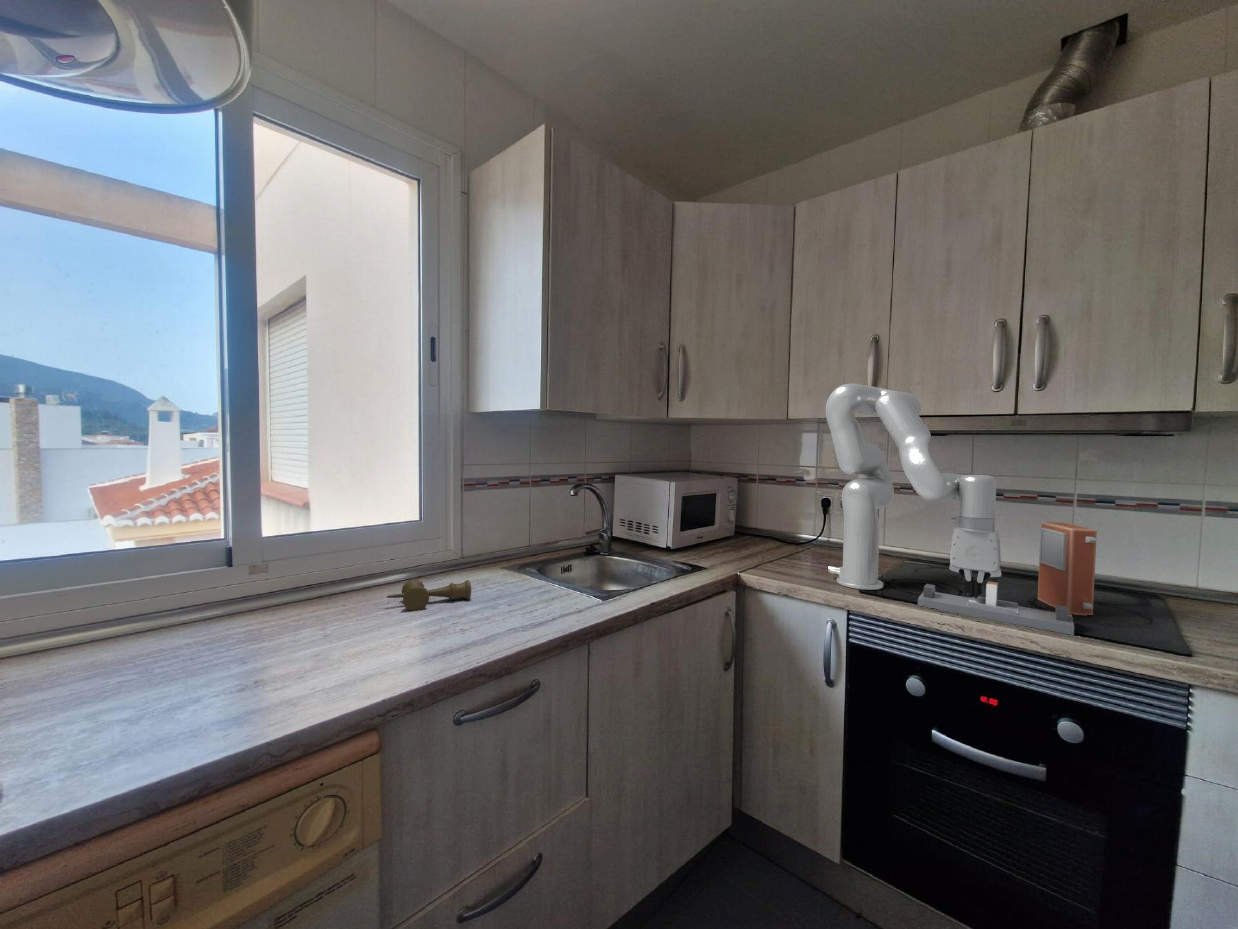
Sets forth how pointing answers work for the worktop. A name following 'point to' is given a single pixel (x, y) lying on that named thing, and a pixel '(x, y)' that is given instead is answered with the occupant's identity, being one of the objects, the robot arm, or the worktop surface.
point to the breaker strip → (999, 611)
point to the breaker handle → (991, 593)
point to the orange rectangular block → (1067, 566)
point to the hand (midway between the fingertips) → (973, 596)
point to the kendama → (430, 593)
